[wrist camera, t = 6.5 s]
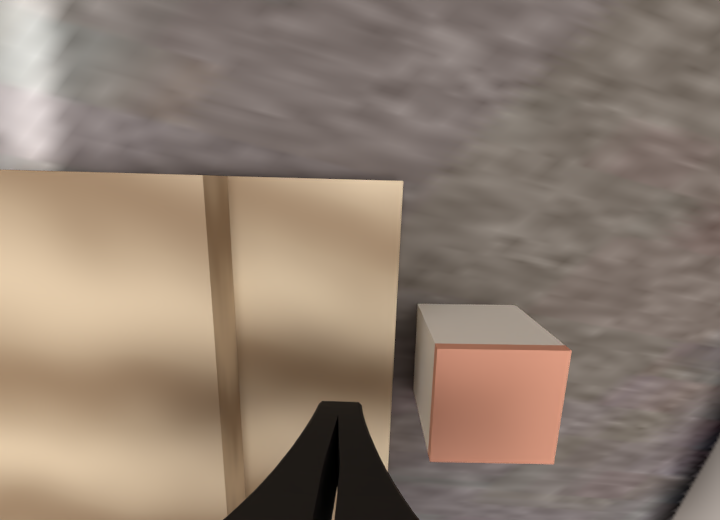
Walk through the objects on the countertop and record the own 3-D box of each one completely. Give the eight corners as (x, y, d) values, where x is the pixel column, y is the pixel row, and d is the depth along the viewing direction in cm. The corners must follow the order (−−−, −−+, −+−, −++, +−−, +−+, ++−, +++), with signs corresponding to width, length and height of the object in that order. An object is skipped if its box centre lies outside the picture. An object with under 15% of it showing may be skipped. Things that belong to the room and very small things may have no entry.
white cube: (430, 461, 13) (412, 389, 17) (553, 464, 13) (504, 391, 17) (437, 348, 12) (417, 303, 16) (571, 350, 12) (514, 304, 16)
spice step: (382, 491, 18) (387, 576, 14) (71, 482, 18) (-8, 563, 14) (398, 181, 15) (410, 180, 11) (12, 170, 15) (-115, 166, 11)
